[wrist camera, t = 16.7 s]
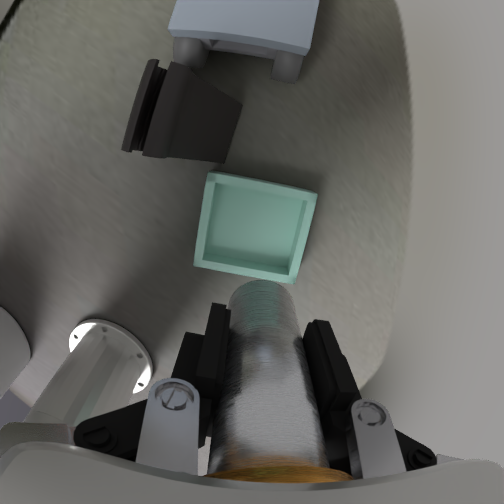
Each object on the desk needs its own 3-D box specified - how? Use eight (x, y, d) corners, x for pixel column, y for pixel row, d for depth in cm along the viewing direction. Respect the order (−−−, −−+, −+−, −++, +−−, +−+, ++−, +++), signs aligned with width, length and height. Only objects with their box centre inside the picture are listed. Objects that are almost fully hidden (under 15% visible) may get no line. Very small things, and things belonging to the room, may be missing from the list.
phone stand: (242, 105, 26) (238, 74, 14) (224, 163, 28) (206, 172, 16) (156, 86, 25) (102, 53, 13) (139, 142, 27) (75, 141, 15)
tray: (291, 273, 31) (294, 284, 29) (197, 256, 31) (193, 265, 28) (312, 190, 28) (317, 194, 26) (211, 170, 28) (207, 172, 25)
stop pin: (291, 348, 14) (321, 544, 5) (212, 336, 14) (177, 539, 5) (315, 278, 13) (398, 497, 3) (224, 261, 13) (177, 500, 3)
